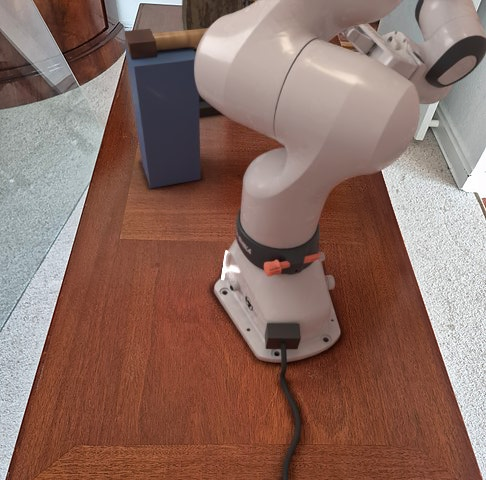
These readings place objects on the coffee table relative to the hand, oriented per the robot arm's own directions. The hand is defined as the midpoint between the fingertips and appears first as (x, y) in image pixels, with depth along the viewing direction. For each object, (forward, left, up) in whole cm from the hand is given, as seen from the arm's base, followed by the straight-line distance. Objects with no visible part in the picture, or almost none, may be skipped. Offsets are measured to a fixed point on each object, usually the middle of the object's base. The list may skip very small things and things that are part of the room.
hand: (343, 27), depth 80 cm
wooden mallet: (0, +28, 0) cm, 28 cm away
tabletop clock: (+41, +11, -25) cm, 49 cm away
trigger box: (+22, +20, -24) cm, 39 cm away
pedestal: (0, +32, -24) cm, 40 cm away
